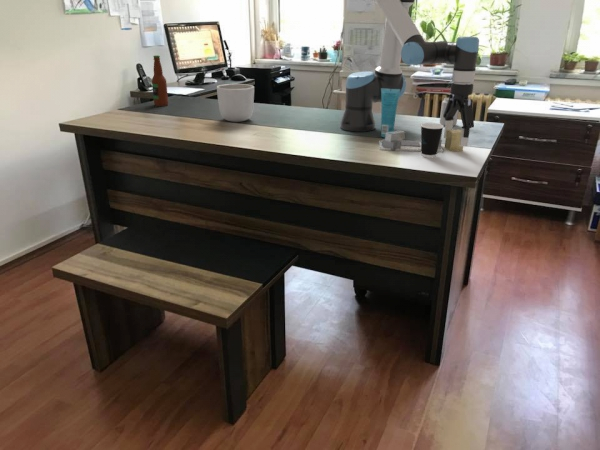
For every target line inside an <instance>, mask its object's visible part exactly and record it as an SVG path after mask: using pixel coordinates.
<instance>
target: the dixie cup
mask: <svg viewBox="0 0 600 450" xmlns="http://www.w3.org/2000/svg"><path fill="white" fill-rule="evenodd" d="M444 128H445V126H443V125H441V124H440V123H432V122H425V123H421V124H420V132H421V137H420V139H421V140H420V142H421V151H420V152H421V156H422V157H423V158H429V159H433V158H436V156H437V154H438V152H437V150H438V146H439V142H440V138H441V139H442V137H441V133H442V134H443V129H444Z"/></svg>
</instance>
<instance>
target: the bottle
mask: <svg viewBox="0 0 600 450" xmlns="http://www.w3.org/2000/svg"><path fill="white" fill-rule="evenodd" d="M160 57H161V56H160V55H153V76H152V78H151V86H152V87H151V88H152V97H153V98H152V99H153V105H154V106H156V107H165V106H168V105H169V98H168V96H169V95H168V85H167V78H166V77H165V76H164V74H163V68H162V67H163V66H162V64H161V61H160V60H161V58H160Z"/></svg>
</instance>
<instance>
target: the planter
mask: <svg viewBox="0 0 600 450" xmlns="http://www.w3.org/2000/svg"><path fill="white" fill-rule="evenodd" d="M216 92H217V101H218V109H219V113H220V115H221V117H222V118H223V119H224V120H225V121H227V122H232V123H233V122H234V123H237V122H239V123H240V122H245V121H247V120H249V119H250V118H251V117H252V116H253V112H254V100H255V86H254V85H252V84H247V83H245V84H244V83H228V84H219V85H217V86H216Z"/></svg>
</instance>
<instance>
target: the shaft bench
mask: <svg viewBox="0 0 600 450" xmlns="http://www.w3.org/2000/svg"><path fill="white" fill-rule="evenodd" d="M405 136H406V131H403V130H399V129H398V130H394V131H392V132H386V136H385V137H384V139H382V140H379V141H378V144H379V150H380V151H403V152H421V141H419V140H405V139H406V137H405ZM442 136H443V132H442V133H441V138H440V142H439V146H438V150H437V153H444V150H443V148H442V142H443V140H442Z"/></svg>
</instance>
